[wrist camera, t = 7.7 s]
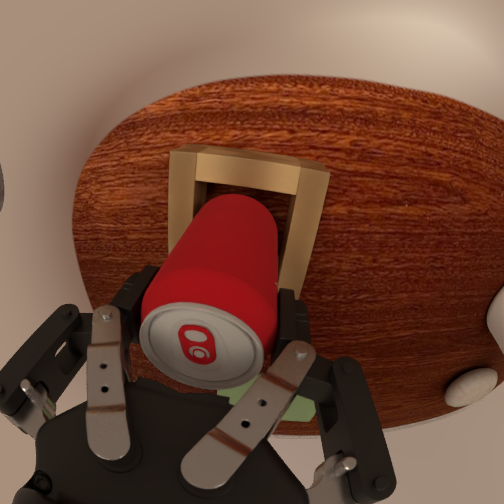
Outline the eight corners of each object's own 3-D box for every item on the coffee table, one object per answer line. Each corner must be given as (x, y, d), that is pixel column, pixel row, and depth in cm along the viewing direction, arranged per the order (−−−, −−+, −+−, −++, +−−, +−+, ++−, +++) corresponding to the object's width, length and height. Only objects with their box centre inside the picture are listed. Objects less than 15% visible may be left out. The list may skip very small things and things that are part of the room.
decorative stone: (499, 359, 31) (509, 378, 27) (472, 389, 36) (479, 407, 31) (462, 360, 31) (473, 383, 27) (432, 393, 36) (439, 415, 31)
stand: (183, 258, 26) (169, 281, 23) (187, 143, 21) (169, 150, 17) (295, 276, 26) (297, 303, 23) (322, 162, 21) (330, 173, 17)
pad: (216, 409, 40) (216, 411, 40) (219, 366, 34) (218, 368, 34) (309, 419, 40) (309, 421, 40) (335, 380, 34) (335, 382, 33)
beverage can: (200, 263, 23) (148, 385, 12) (193, 190, 20) (107, 288, 9) (276, 266, 22) (272, 400, 12) (279, 191, 19) (282, 301, 9)
